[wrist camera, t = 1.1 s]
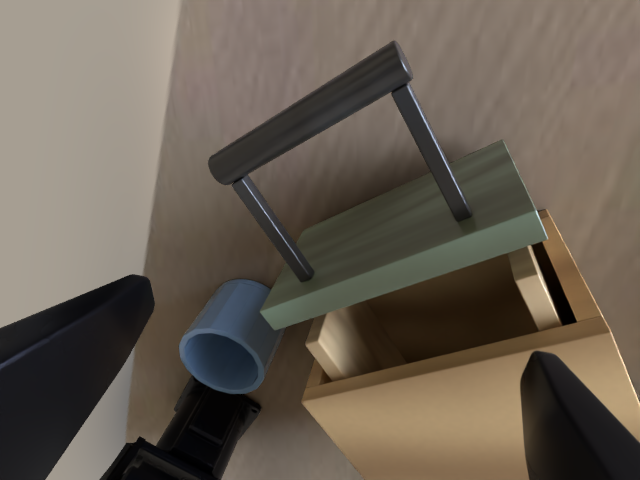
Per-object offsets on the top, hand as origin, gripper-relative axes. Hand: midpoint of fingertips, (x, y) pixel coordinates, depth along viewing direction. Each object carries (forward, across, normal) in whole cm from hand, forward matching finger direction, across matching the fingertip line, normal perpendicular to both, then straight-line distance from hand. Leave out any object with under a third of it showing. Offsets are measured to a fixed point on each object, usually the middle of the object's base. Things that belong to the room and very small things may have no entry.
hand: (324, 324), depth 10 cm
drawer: (+13, -2, +4) cm, 14 cm away
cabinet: (+14, -7, +11) cm, 19 cm away
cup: (+14, +8, +13) cm, 21 cm away
